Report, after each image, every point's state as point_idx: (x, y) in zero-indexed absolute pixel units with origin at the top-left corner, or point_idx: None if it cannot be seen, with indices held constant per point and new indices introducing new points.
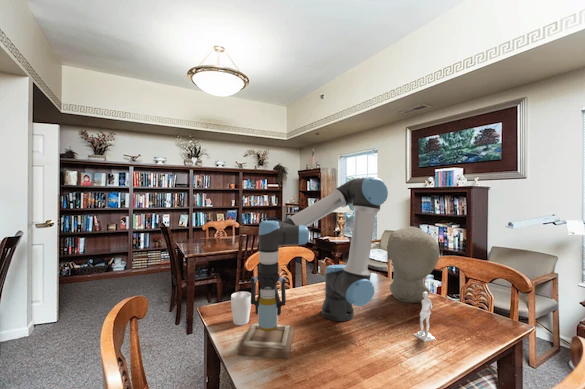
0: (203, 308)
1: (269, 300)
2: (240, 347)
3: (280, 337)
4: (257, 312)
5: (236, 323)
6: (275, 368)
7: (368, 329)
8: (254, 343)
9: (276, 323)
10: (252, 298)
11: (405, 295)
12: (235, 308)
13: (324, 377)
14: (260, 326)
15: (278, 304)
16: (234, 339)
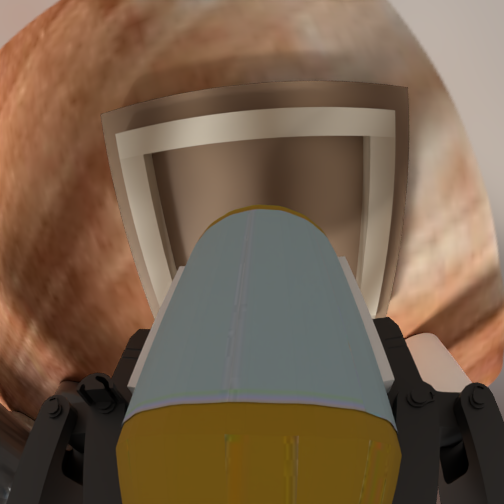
0: (498, 374)
1: (175, 493)
2: (397, 95)
3: (187, 241)
4: (379, 331)
5: (431, 336)
6: (162, 22)
7: (9, 341)
8: (321, 108)
9: (180, 273)
10: (494, 447)
11: None
12: (463, 380)
13: (5, 68)
14: (316, 228)
15: (102, 418)
16: (434, 229)
